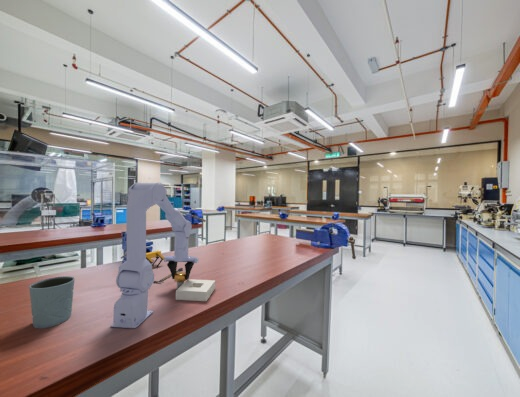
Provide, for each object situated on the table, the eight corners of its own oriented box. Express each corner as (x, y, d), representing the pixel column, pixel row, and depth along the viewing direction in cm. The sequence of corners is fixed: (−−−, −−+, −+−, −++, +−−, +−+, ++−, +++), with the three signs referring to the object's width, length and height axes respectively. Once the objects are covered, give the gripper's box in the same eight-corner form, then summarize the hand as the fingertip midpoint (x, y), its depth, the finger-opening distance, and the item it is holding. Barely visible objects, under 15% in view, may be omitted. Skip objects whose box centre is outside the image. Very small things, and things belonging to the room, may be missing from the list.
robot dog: (127, 272, 112) (128, 246, 112) (157, 263, 128) (158, 241, 129) (134, 274, 110) (135, 247, 110) (164, 265, 126) (165, 242, 126)
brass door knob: (183, 290, 91) (184, 276, 91) (171, 289, 92) (172, 275, 92) (188, 285, 97) (189, 272, 97) (177, 285, 97) (177, 271, 97)
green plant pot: (75, 320, 67) (77, 281, 68) (28, 335, 60) (29, 291, 60) (70, 309, 74) (71, 273, 74) (27, 320, 67) (28, 281, 67)
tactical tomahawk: (164, 287, 97) (165, 284, 97) (152, 284, 99) (152, 281, 99) (190, 271, 117) (190, 269, 117) (180, 269, 119) (180, 267, 119)
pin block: (206, 301, 82) (206, 292, 82) (175, 299, 83) (175, 290, 83) (215, 288, 94) (215, 280, 94) (188, 287, 95) (188, 279, 95)
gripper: (201, 245, 98) (200, 276, 98) (169, 244, 99) (169, 274, 99) (195, 249, 91) (194, 282, 91) (161, 248, 92) (160, 280, 92)
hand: (180, 278), depth 94 cm, fingers closed on brass door knob, 5 cm apart
